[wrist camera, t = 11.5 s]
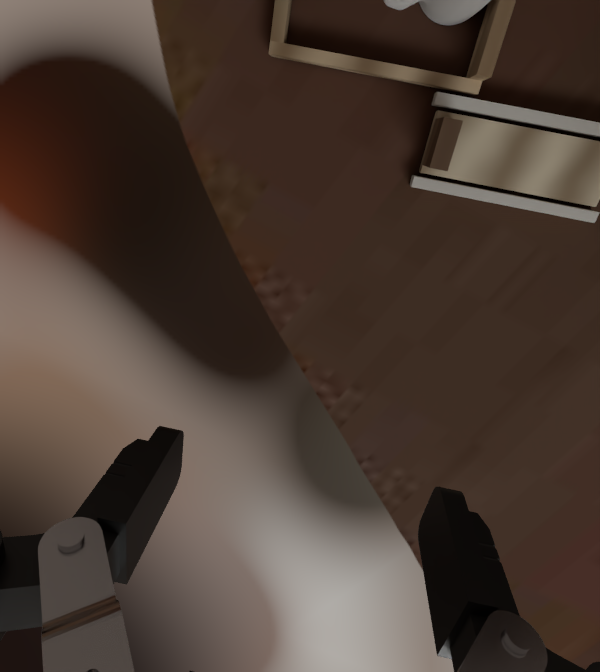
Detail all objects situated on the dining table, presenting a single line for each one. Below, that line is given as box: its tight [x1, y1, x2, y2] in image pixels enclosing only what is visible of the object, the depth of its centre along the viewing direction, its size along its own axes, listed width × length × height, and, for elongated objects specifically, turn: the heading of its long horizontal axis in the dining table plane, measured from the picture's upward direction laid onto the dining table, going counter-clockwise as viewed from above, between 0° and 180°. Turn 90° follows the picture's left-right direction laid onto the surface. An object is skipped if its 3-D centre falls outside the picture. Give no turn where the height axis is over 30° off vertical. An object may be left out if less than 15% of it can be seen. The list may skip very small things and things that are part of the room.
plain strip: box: [419, 110, 600, 207], centre depth 38 cm, size 17×5×5 cm, turn 80°
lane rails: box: [410, 92, 600, 223], centre depth 37 cm, size 18×24×2 cm
